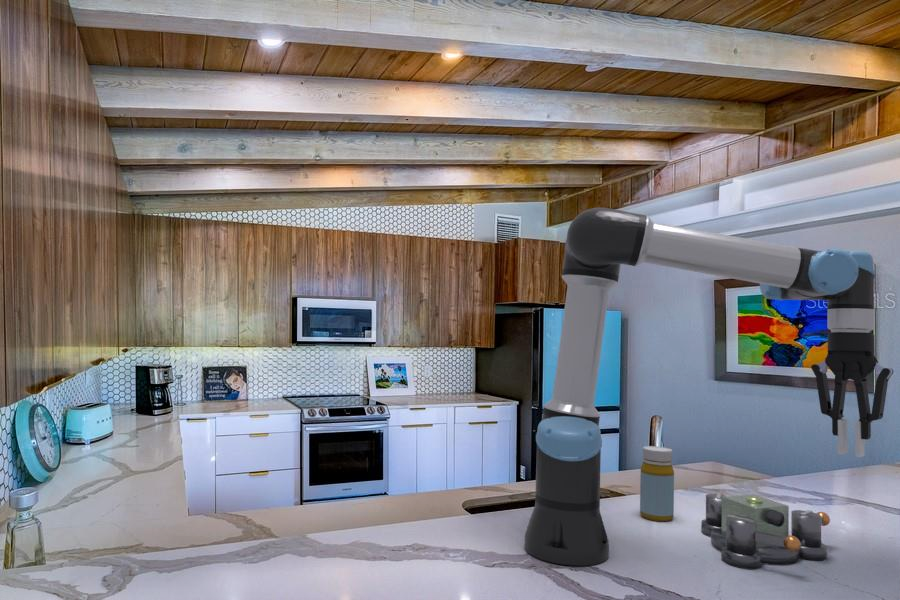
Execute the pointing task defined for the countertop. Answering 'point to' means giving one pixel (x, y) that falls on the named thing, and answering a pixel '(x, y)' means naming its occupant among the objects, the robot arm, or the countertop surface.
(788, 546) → the foot screw
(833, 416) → the robot arm
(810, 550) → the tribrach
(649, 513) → the bottle
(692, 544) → the countertop surface
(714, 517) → the foot screw
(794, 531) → the foot screw
